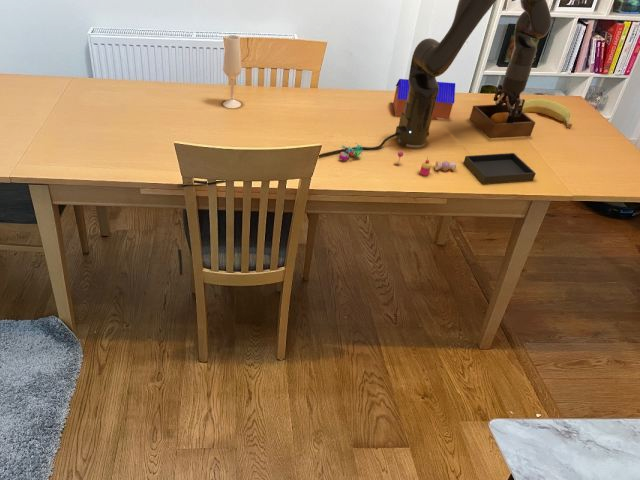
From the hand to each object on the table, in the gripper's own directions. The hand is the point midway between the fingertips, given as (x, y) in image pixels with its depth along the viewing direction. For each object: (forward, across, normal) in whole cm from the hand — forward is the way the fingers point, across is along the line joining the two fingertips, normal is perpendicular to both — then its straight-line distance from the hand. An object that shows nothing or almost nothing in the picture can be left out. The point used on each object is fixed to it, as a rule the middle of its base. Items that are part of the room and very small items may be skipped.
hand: (502, 120), depth 208 cm
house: (+3, -17, -23) cm, 29 cm away
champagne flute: (+2, -31, -92) cm, 97 cm away
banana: (+4, -6, +22) cm, 23 cm away
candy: (+3, +24, -39) cm, 46 cm away
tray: (+3, +28, -16) cm, 33 cm away
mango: (+3, 0, 0) cm, 3 cm away
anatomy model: (+3, +13, -61) cm, 63 cm away
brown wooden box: (+3, 0, 0) cm, 3 cm away
